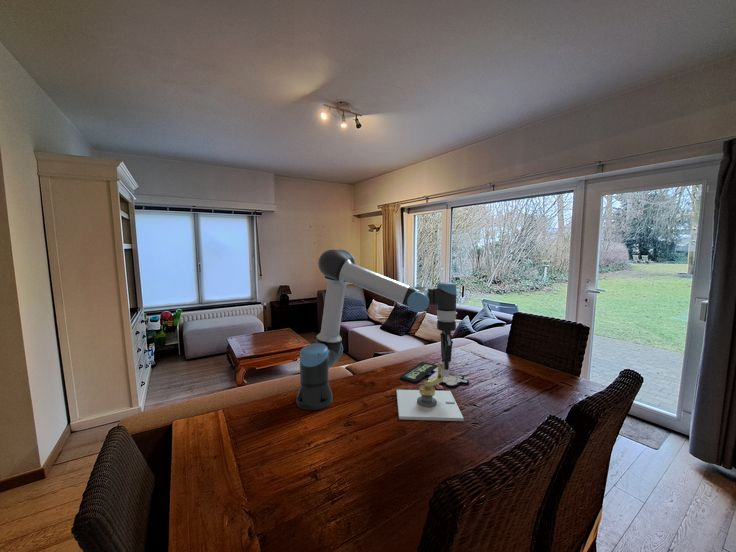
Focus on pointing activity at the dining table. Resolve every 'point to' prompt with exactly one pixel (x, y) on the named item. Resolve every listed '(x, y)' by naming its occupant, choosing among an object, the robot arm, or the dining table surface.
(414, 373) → the sign
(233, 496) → the dining table surface
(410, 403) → the post board
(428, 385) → the brass lever knob
